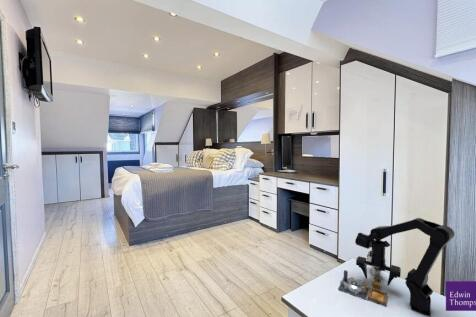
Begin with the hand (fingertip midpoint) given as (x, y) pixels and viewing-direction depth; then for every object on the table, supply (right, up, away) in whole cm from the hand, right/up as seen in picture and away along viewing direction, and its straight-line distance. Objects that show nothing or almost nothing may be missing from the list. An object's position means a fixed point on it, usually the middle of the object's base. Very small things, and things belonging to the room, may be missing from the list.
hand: (377, 282), depth 113 cm
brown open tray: (-5, -3, -8) cm, 9 cm away
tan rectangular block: (0, -3, 0) cm, 3 cm away
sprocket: (-12, -3, -1) cm, 12 cm away
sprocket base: (-12, -3, -1) cm, 12 cm away
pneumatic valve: (+6, -2, +12) cm, 13 cm away
